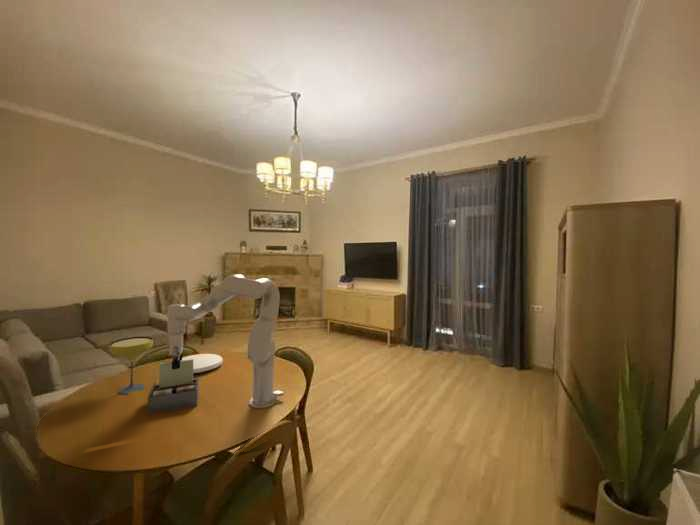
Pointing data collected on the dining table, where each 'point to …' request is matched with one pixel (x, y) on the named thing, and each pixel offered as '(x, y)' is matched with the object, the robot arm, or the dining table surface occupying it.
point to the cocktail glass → (131, 355)
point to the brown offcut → (162, 392)
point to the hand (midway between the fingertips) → (177, 365)
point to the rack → (173, 398)
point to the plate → (204, 362)
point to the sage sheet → (175, 373)
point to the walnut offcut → (185, 389)
